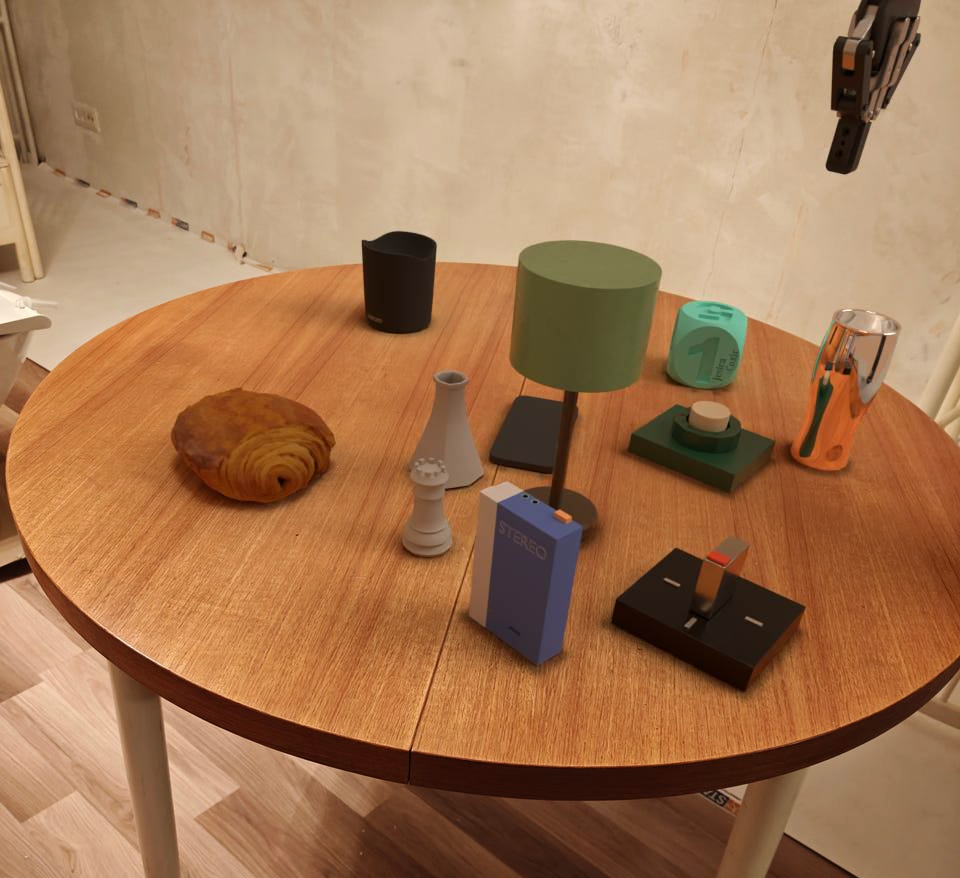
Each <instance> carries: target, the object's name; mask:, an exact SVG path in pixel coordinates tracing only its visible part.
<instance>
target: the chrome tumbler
mask: <svg viewBox="0 0 960 878" xmlns="http://www.w3.org/2000/svg"><path fill="white" fill-rule="evenodd" d="M830 319H831V320H830V322H829V325H828V326H827V329H826V331H825V334H824V336H823V339H822V341H821V343H820V346H819V349H818V352H817V353H816V358H815V362H814V365H813V369H812V374H811V378H810V384H809V385H810V386H809V391H808V392H809V393H808V400H807V405H806V411H805V416H804V420H803V423H802V425H801V428H800V430H799V431H798V434H797V436H796V437H795V439H794V440H793V442H792V445H791V447H790V449H789V451H790V454H791V456H792V458H793V459H794V460H795V461H796V462H798V463H800V464H801V465H803V466H806V467H808V468H810V469H811V468H812V469H814V470H819V471H826V472H829V471H830V472H833V471H840V470H842V469H844V468H845V467H846V466H847V464H848V462H849V456H850V452H851V451H850V450H851V445H852V440H853V437H854V435H855V433H856V430H857V428H858V426H859V424H860V423H861V421H862V419H863V417H864V416H865V414H867V413H866V412H867V411H868V409H869V408H870V406H871V405H872V402H873V401H874V400H875V398H876V396H877V394H878V392H879V390H880V389H881V387H882V385H883V383H884V380H885V378H886V376H887V373H888V371H889V369H890V366H891V363H892V361H893V357H894V353H895V350H896V347H897V344H898V340H899V337H900V333H901V331H902V325H901V324H900V322H898V320H896V319H894V318H893V317H890V316H888V315H886V314H883V313H880V312H876V311H873V310H869V309H861V308H843V309H838V310H836V311H834V312H833V313H832V317H831V318H830Z"/></svg>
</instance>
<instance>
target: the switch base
mask: <svg viewBox="0 0 960 878" xmlns="http://www.w3.org/2000/svg"><path fill="white" fill-rule="evenodd" d="M691 407H692V406H687V407H686V406H684V405H681V404H679V403H676V404H675V405H673V406H671V407H669V408H668V409H667V410H665V411H664V412H661V413H660V414H659V415H657V416H656V417H654V418H653V419H651V420H650V421H648V422H647V423H645V424H644V425H642V426H640V427H639V428H637V429H636V430H634V431H633V432H631V434H630V439H629V444H628V449H627V452H628V453H630V454H633V455H636V456H638V457H641V458H642V459H645V460H647V461H649V462H652V463H654V464H657V465H660V466H662V467H664V468H666V469H669V470H671V471H674V472H676V473H678V474H681V475H684V476H686V477H689V478H691V479H694V480H696V481H698V482H700V483H703V484H705V485H708V486H710V487H713V488H715V489H717V490H719V491H720V490H721V491H723V492H725V493H727V494H731V493H732V492H733V491H734V490H736V488H738V487H739V486H740V485H741V484H742V483H744V481H746V480H747V479H748V478H750V477H751V476H752V475H753V474H754V473H755V472H756V471H758V470H760V468H761V467H763V466H764V465H765V464H766V463H767V462H768V461H769V460H771V458H772V455H773V452H774V448H775V445H776V442H777V441H776V440H774V439H772V438H769V437H767V436H764V435H761V434H758V433H756V432H753V431H750V430H748V429H745V428H742V424H741V421H740V420H739V419H738V418H736V417H735V416H734V415H733V414H732V413H730V417H729V421H728V424H727V428H726V430H725V431H722V432H709V431H703V430H700V429H697V428H695V427H693V426H691V425H690V424H689V423H688V420H689V416H690V411H691Z"/></svg>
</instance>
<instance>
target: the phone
mask: <svg viewBox="0 0 960 878" xmlns="http://www.w3.org/2000/svg"><path fill="white" fill-rule="evenodd" d="M562 404H563V401H561V400H555V399H550V398H543V397H539V396H531V395H526V394H524V395H522V394H521V395H518V396H516V397H515V398H514V400H513V401H512V404H511V406H510V407H509V410H508V412H507V414H506V416H505V419H504V420H503V422H502V424H501V426H500V428H499V430H498V433H497V435H496V436H495V439H494V441H493V443H492V445H491V447H490V449H489V454H488V459H489V460H490V461H491V462H492V463H494V464H498V465H502V466H507V467H512V468H519V469H524V470H529V471H535V472H540V473H544V474H545V473H546V474H551V473H552V474H553V468H554V461H555V454H556V447H557V440H558V433H559V426H560V419H561V411H562ZM578 415H579V407H578V405H577V406H576V413H575V420H574V426H573V428H574V427H575V424H576V420H577V418H578Z"/></svg>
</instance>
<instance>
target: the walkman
mask: <svg viewBox="0 0 960 878" xmlns="http://www.w3.org/2000/svg"><path fill="white" fill-rule="evenodd" d="M478 496H479V497H478V509H477V519H476V520H477V521H476V522H477V523H476V532H475V536H474V546H473V558H472V559H473V560H472V573H471V586H470V597H469V609H468V616H469V618H471V619H472V620H474V621H475V622H476V623H478V624H479V625H481V626H482V627H484V628H485V629H486V630H488V631H489V632H490V633H492V634H493V635H494V636H496V637H497V638H499V639H500V640H501V641H502V642H504V643H505V644H507V645H508V646H509V647H511V648H512V649H513V650H515V651H516V652H518V653H519V654H520V655H521V656H523V657H524V658H526V659H527V660H528V661H530V662H531V663H532V664H534V665H535V666H536V667H538V666H540V665H542V664H543V663H545V662H547V661H549V660H550V659H551V658H553V657H555V656H557V655H558V654H559V653H561V652H562V650H563V646H564V639H565V634H566V628H567V622H568V616H569V610H570V605H571V598H572V593H573V588H574V582H575V575H576V570H577V565H578V560H579V559H578V558H579V553H580V548H581V543H582V542H581V536H582V530H583V526H581V525H580V524H578V523H576V522H575V521H573V520H572V517H571V516H570V515H568V514H566V513H565V512H563V511H561V510H558V511H556V510H555V509H553V508H551V507H550V506H548V505H546V504H545V503H543V502H541V501H540V500H538V499H537V498H535V497H533V496H532V495H530V494H528V493H527V492H525V491H524V490H523V489H521V488H519V486H516V485H515V484H513V483H511V482H509V481H508V480H506V481H504V482H502V483H499V484H497V485H490V486H487V487H486V488H482V489H481V490H479V495H478ZM580 542H581V543H580Z"/></svg>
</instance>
